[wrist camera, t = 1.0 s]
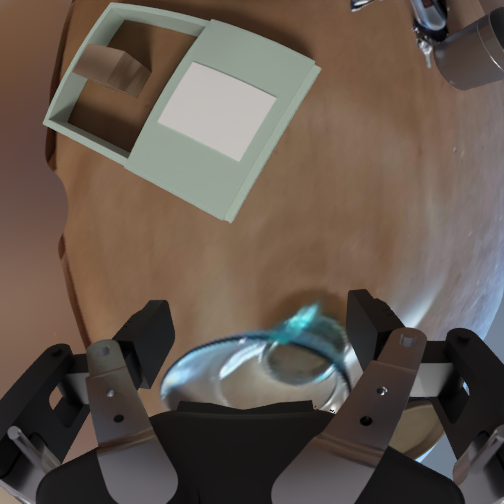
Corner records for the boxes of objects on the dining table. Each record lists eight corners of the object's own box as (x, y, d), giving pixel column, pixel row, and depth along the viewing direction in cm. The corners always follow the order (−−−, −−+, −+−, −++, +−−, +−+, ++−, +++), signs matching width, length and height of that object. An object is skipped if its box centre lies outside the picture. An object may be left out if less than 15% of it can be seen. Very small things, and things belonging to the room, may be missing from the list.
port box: (124, 14, 29) (107, -1, 23) (314, 81, 32) (323, 65, 26) (61, 126, 34) (37, 123, 28) (235, 216, 37) (229, 225, 31)
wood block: (118, 61, 31) (88, 43, 23) (152, 72, 32) (124, 51, 23) (104, 86, 33) (71, 72, 24) (137, 98, 33) (105, 83, 25)
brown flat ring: (318, 471, 55) (319, 484, 50) (347, 400, 46) (352, 417, 42) (416, 454, 53) (420, 465, 49) (463, 381, 45) (471, 392, 40)
